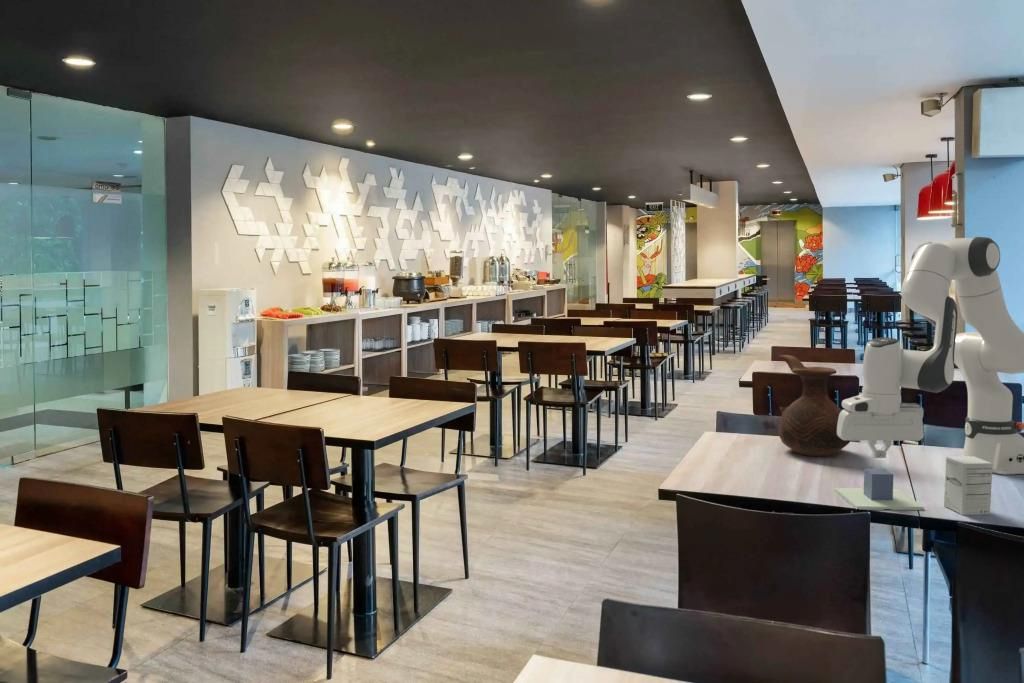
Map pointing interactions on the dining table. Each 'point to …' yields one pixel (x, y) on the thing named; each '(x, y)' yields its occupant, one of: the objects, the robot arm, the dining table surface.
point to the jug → (811, 414)
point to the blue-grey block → (878, 484)
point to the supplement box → (968, 485)
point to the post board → (864, 503)
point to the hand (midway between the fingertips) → (878, 457)
